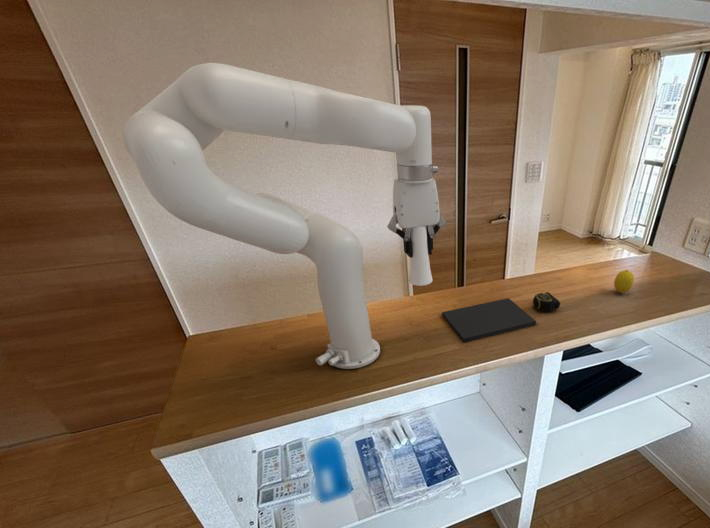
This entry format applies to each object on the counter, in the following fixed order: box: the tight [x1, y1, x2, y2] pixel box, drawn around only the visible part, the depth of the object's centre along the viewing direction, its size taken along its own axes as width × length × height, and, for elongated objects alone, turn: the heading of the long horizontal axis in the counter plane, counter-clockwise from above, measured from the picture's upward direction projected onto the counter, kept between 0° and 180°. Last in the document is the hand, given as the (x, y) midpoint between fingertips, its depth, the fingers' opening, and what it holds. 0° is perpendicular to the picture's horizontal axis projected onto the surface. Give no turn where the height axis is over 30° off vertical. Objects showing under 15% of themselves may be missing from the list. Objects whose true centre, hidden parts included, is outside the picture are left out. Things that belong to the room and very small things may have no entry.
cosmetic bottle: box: [408, 226, 433, 287], centre depth 88 cm, size 6×6×22 cm
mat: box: [441, 297, 537, 343], centre depth 104 cm, size 22×15×1 cm
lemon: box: [613, 269, 635, 294], centre depth 117 cm, size 6×6×8 cm
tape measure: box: [532, 291, 561, 312], centre depth 110 cm, size 7×7×4 cm
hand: (418, 253), depth 90 cm, fingers closed on cosmetic bottle, 4 cm apart
